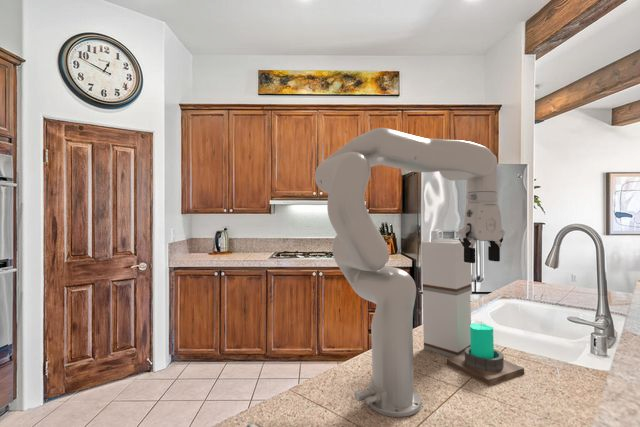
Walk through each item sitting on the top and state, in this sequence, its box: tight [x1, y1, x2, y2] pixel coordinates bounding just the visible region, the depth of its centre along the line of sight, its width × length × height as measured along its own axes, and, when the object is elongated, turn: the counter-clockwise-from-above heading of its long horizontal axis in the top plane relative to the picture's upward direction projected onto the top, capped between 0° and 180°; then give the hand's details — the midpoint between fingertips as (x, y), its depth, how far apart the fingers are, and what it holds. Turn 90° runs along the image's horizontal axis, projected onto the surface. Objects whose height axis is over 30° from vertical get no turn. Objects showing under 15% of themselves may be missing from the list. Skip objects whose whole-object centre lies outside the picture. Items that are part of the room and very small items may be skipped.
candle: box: [470, 321, 495, 359], centre depth 95 cm, size 6×6×12 cm
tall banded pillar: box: [420, 239, 473, 358], centre depth 109 cm, size 11×11×35 cm
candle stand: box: [446, 347, 525, 386], centre depth 95 cm, size 14×14×4 cm
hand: (482, 261), depth 92 cm, fingers open, 9 cm apart
